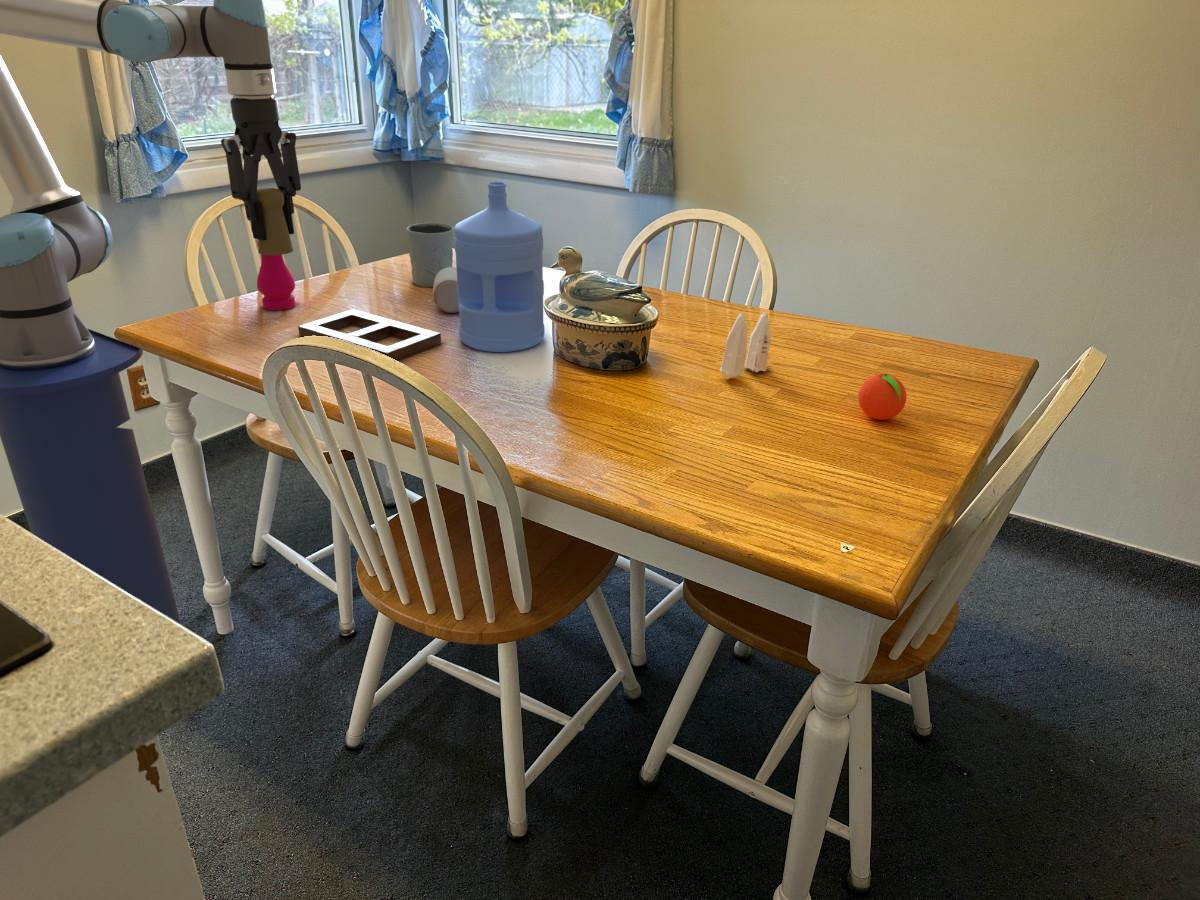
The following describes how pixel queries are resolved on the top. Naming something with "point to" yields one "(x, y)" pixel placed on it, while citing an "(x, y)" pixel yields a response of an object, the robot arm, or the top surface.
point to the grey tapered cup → (429, 251)
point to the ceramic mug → (446, 290)
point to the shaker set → (738, 346)
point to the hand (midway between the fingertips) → (274, 235)
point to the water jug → (499, 277)
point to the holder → (374, 333)
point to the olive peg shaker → (273, 223)
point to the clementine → (882, 396)
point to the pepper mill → (275, 283)
